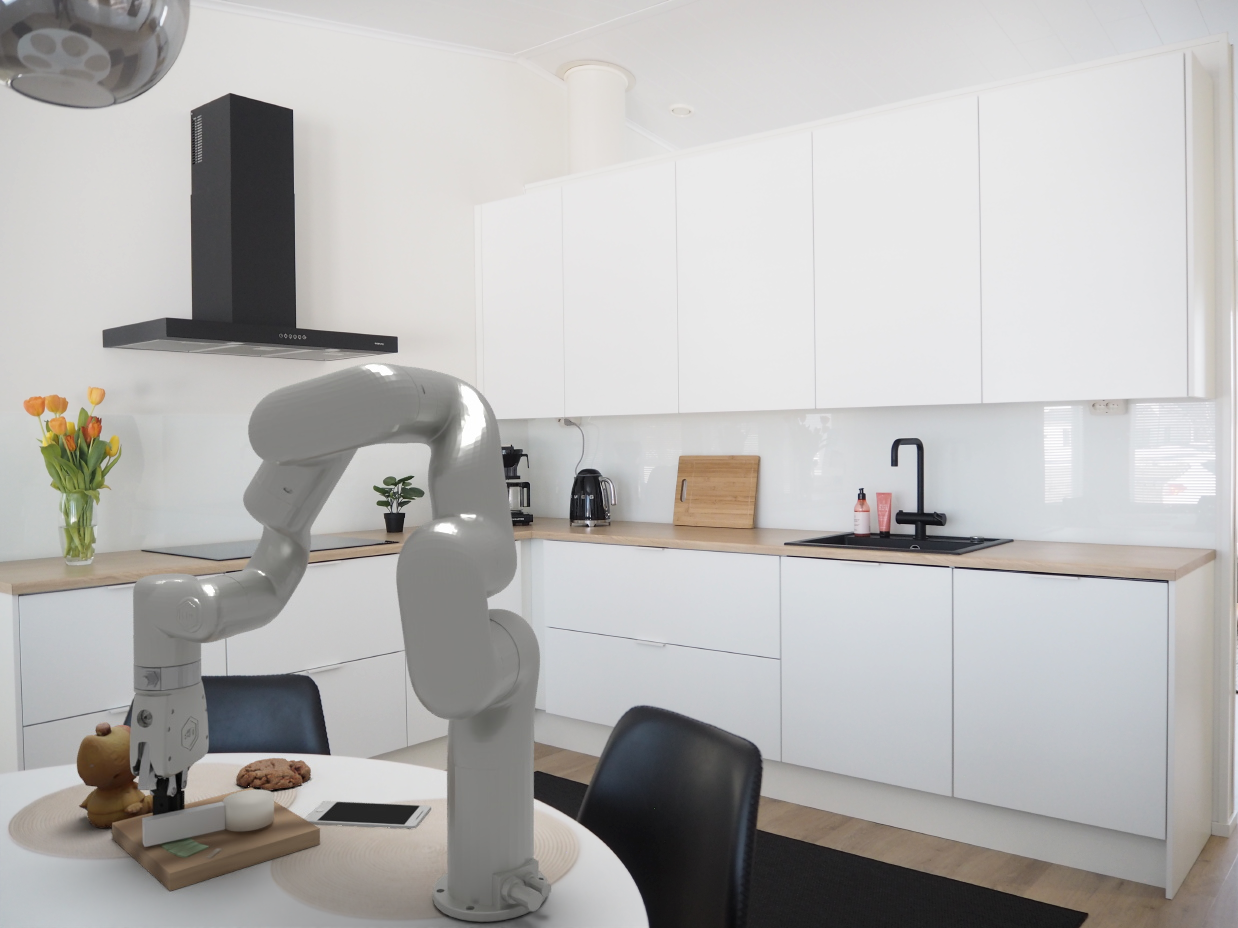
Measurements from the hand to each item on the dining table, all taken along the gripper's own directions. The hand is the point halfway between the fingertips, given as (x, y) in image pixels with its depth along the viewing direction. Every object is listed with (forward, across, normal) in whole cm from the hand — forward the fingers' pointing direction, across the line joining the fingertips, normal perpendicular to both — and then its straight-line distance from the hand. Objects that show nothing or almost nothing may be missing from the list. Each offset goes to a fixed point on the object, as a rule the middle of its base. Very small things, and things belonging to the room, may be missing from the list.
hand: (168, 823), depth 118 cm
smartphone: (+4, +14, -20) cm, 25 cm away
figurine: (+4, +8, +13) cm, 16 cm away
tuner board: (+3, +3, -4) cm, 6 cm away
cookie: (+4, +25, -1) cm, 25 cm away
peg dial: (+1, +1, -5) cm, 5 cm away
